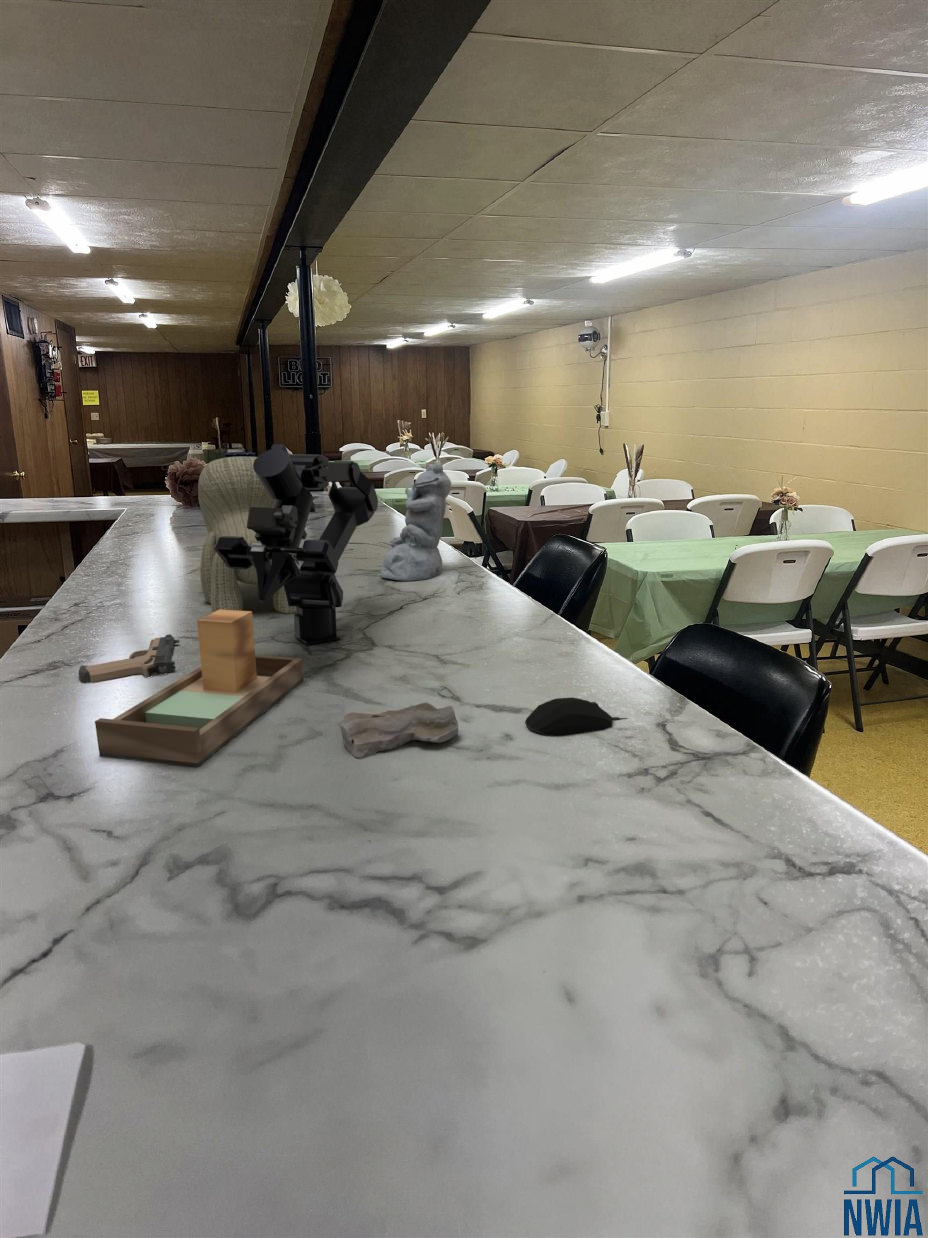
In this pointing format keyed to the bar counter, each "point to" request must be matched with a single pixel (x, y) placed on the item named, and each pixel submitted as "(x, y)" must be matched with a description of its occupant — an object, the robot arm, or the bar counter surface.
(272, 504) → the toy
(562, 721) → the gaming mouse
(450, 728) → the stone
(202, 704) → the pad
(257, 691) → the tray box
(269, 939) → the bar counter surface
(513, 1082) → the bar counter surface
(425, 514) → the sculpture
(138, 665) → the handgun
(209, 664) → the block
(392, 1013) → the bar counter surface
